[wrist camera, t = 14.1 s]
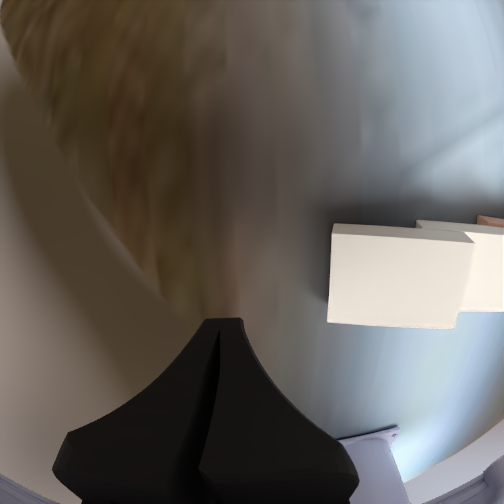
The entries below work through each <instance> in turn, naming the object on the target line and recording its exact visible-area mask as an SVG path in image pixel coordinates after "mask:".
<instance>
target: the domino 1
mask: <svg viewBox="0 0 504 504" xmlns="http://www.w3.org/2000/svg"><path fill="white" fill-rule="evenodd" d="M474 249H475V242H474V241H473V240H472V239H470V238H469V237H468V236H467V235H466V234H465V233H464V232H456V231H444V230H432V229H419V228H405V227H390V226H374V225H357V224H338V223H334V226H333V230H332V243H331V269H330V288H329V303H328V317H327V322H332V323H343V324H356V325H370V326H387V327H406V328H435V329H454V327H455V324H456V321H457V318H458V315H459V311H460V308H461V305H462V301H463V297H464V294H465V290H466V286H467V282H468V278H469V273H470V269H471V264H472V259H473V254H474Z"/></svg>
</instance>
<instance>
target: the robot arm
mask: <svg viewBox="0 0 504 504" xmlns="http://www.w3.org/2000/svg"><path fill="white" fill-rule="evenodd" d="M399 431H400V429H399V427H395V428H391V429H388V430H384V431H380V432H376V433H372V434H367V435H363V436H358V437H354V438H349V439H343V440H338V441H337V440H336V439H334V438H333V437H331V436H330V435H328V434H327V433H326V432H324V431H323V430H321V429H320V428H319V427H317V426H316V425H315V424H314V423H313V422H311V421H310V420H309V419H308V418H307V417H305V416H304V415H303V414H302V413H301V412H300V411H299V410H298V409H297V408H296V407H295V406H294V405H293V404H292V403H291V402H290V401H289V400H288V399H287V398H286V397H285V396H284V395H283V393H282V392H281V391H280V390H279V389H278V388H277V386H276V385H275V384H274V383H273V381H272V380H271V379H270V377H269V376H268V374H267V373H266V371H265V370H264V368H263V367H262V365H261V364H260V362H259V360H258V358H257V357H256V355H255V353H254V351H253V349H252V347H251V345H250V343H249V340H248V338H247V335H246V333H245V329H244V324H243V320H242V319H241V318H215V319H205V320H204V321H203V323H202V324H201V326H200V327H199V329H198V330H197V332H196V333H195V334H194V336H193V337H192V338H191V340H190V341H189V342H188V344H187V345H186V346H185V348H184V349H183V350H182V351H181V353H180V354H179V355H178V356H177V357H176V359H175V360H174V361H173V362H172V363H171V364H170V365H169V366H168V367H167V369H166V370H165V371H164V372H163V373H162V374H161V375H160V376H159V377H158V378H157V379H155V380H154V381H153V382H152V383H151V384H150V385H149V386H148V387H147V388H145V389H144V390H143V391H142V392H140V393H139V394H137V395H136V396H135V397H133V398H132V399H131V400H129V401H128V402H127V403H125V404H124V405H122V406H120V407H119V408H117V409H116V410H114V411H112V412H111V413H109V414H107V415H105V416H103V417H102V418H100V419H98V420H96V421H94V422H92V423H89V424H87V425H85V426H83V427H80V428H78V429H76V430H73V431H71V432H68V434H67V436H66V438H65V439H64V441H63V444H62V446H61V448H60V450H59V453H58V455H57V458H56V460H55V462H54V465H53V467H52V471H53V473H54V475H55V476H56V478H57V479H58V480H59V481H60V482H61V483H62V484H63V485H64V486H66V487H67V488H68V489H69V490H70V491H72V492H73V493H74V494H76V495H77V496H78V497H79V498H80V499H82V503H81V504H411V503H410V502H409V499H408V496H407V493H406V490H405V487H404V484H403V482H402V479H401V476H400V473H399V471H398V468H397V465H396V462H395V460H394V457H393V454H392V452H391V449H390V447H391V446H392V444H393V442H394V440H395V439H396V437H397V435H398V433H399ZM0 504H59V503H57V502H55V501H52V500H50V499H48V498H46V497H43V496H41V495H39V494H37V493H35V492H33V491H31V490H29V489H27V488H25V487H23V486H22V485H20V484H18V483H16V482H14V481H13V480H11V479H9V478H7V477H6V476H4V475H2V474H1V473H0ZM423 504H504V455H503V456H501V457H500V458H498V459H497V460H496V461H495V462H493V463H492V464H491V465H490V466H489V467H488V468H487V469H486V470H485V471H484V472H483V474H481V475H479V476H478V477H476V478H474V479H472V480H471V481H469V482H467V483H465V484H463V485H461V486H459V487H458V488H456V489H454V490H452V491H450V492H447V493H445V494H443V495H441V496H439V497H437V498H435V499H432V500H430V501H428V502H425V503H423Z"/></svg>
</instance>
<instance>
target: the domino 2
mask: <svg viewBox="0 0 504 504" xmlns="http://www.w3.org/2000/svg"><path fill="white" fill-rule="evenodd" d="M416 228H419V229H432V230H444V231H456V232H464V233H465V234H466V235H467V236H468V237H469V238H470V239H472V240H473V241H474V242H475V249H474V254H473V259H472V264H471V269H470V273H469V278H468V282H467V286H466V290H465V294H464V297H463V301H462V305H461V308H460V311H459V312H504V228H503V227H494V226H484V225H474V224H464V223H452V222H440V221H427V220H416Z"/></svg>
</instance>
